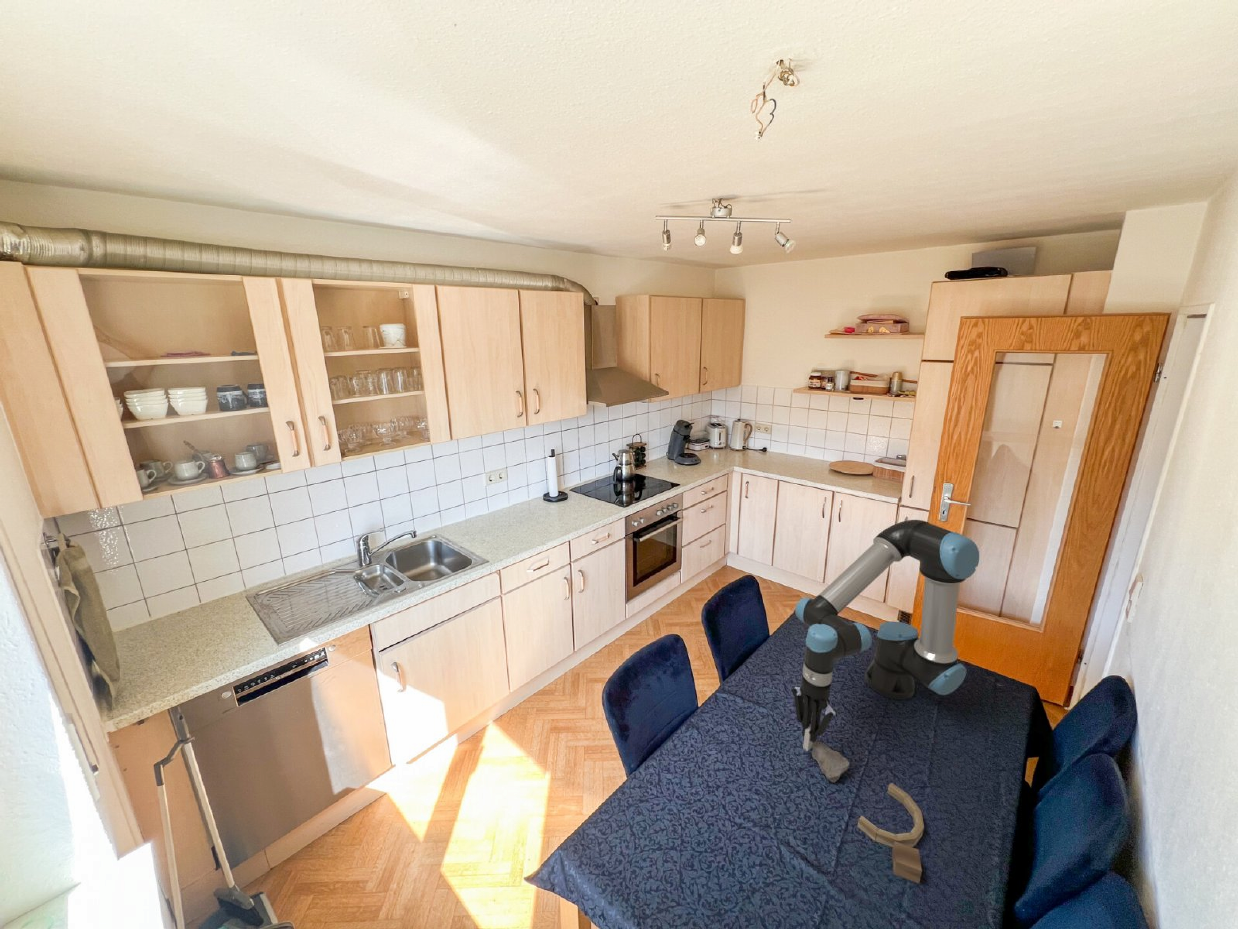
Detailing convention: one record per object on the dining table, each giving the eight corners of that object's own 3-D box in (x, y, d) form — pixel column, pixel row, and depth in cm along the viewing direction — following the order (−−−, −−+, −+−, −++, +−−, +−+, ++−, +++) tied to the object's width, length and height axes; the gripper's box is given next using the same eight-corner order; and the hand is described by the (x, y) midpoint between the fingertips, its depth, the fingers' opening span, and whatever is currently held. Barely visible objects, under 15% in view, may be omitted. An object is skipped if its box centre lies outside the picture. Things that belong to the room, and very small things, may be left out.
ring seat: (890, 790, 132) (891, 782, 131) (933, 820, 123) (935, 813, 123) (857, 826, 122) (858, 819, 121) (902, 862, 114) (903, 854, 113)
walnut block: (891, 854, 116) (894, 841, 115) (915, 862, 114) (918, 849, 113) (893, 874, 111) (896, 861, 110) (919, 884, 109) (921, 871, 108)
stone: (833, 788, 132) (835, 771, 131) (802, 763, 140) (804, 746, 139) (851, 774, 136) (853, 757, 135) (820, 750, 144) (822, 734, 143)
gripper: (788, 671, 138) (781, 738, 144) (830, 698, 128) (821, 769, 134) (804, 660, 142) (796, 727, 148) (846, 686, 132) (836, 756, 138)
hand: (808, 747), depth 141 cm, fingers closed
